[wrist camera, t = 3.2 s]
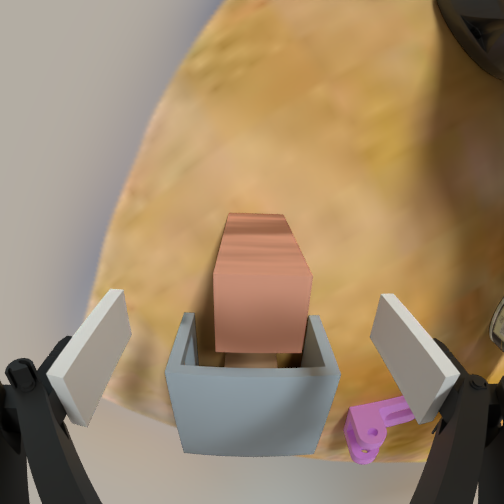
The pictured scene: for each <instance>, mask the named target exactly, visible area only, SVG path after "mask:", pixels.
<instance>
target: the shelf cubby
mask: <svg viewBox="0 0 504 504" xmlns="http://www.w3.org/2000/svg"><path fill="white" fill-rule="evenodd" d="M184 363H185V365H184ZM165 376H166V381H167V386H168V390H169V395H170V399H171V404H172V408H173V412H174V416H175V421H176V425H177V429H178V432H179V436H180V440H181V444H182V447H183V451H184V453H192V454H203V455H216V456H241V457H242V456H243V457H263V456H265V457H268V456H293V455H307V454H314V452H315V449H316V447H317V444H318V441H319V439H320V436H321V433H322V431H323V428H324V425H325V422H326V419H327V416H328V414H329V411H330V408H331V405H332V402H333V399H334V395H335V392H336V389H337V386H338V383H339V379H340V376H341V373H340V370H339V368H338V365H337V362H336V359H335V357H334V354H333V351H332V349H331V346H330V343H329V340H328V338H327V335H326V333H325V330H324V327H323V325H322V322H321V319H320V317H319V315H309V319H308V326H307V332H306V338H305V344H304V350H303V356H302V362H301V367H300V368H227V367H207V366H199V361H198V350H197V338H196V326H195V313H185V312H184V315H183V318H182V321H181V324H180V327H179V330H178V333H177V336H176V339H175V342H174V345H173V348H172V351H171V354H170V357H169V360H168V364H167V367H166V370H165Z"/></svg>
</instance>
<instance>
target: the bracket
mask: <svg viewBox="0 0 504 504" xmlns="http://www.w3.org/2000/svg"><path fill="white" fill-rule="evenodd" d="M408 408H409V409H408ZM404 409H405V410H404ZM397 411H398V412H397ZM393 412H394V413H393ZM413 419H415V417H414V415H413V413H412V411H411V409H410V407H409V405H408V404H407V402H406V400H405V398H404V396H400V397H396V398H391V399H387V400H383V401H378V402H374V403H369V404H364V405H359V406H353V407H349V411H348V415H347V419H346V422H345V426H344V429H343V431H344V434H345V438H346V441H347V445H348V448H349V452H350V456H351V458H352V460H353V461H354V462H356V463H358V464H368V463H371V462H372V461H373V460H374V459H375V458H376V456H377V454H378V452H379V447H380V446H381V445H382V444H383V442H384V440H385V438H386V435H387V430H386V427H390V426H394V425H398V424H401V423H405V422H408V421H411V420H413ZM361 450H367V451H368V453H363V452H362V451H361Z"/></svg>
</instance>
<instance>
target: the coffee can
mask: <svg viewBox="0 0 504 504" xmlns="http://www.w3.org/2000/svg"><path fill="white" fill-rule="evenodd" d="M489 335H490V339H491V340H492V342H494V343H495V344H496V345H497V346H498V347H499V348H500V349H501V350H502V351H503V352H504V298H503V299H502V300H501V302H500V303H499V305H498V307H497V309H496V311H495V313H494V315H493V318H492V321H491V325H490V331H489Z"/></svg>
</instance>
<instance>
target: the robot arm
mask: <svg viewBox="0 0 504 504" xmlns="http://www.w3.org/2000/svg"><path fill="white" fill-rule="evenodd" d="M437 3H438V5H439V8H440V10H441V13H442V15H443V17H444V19H445V21H446V23H447V25H448V26H449V28H450V30H451V31H452V33H453V35H454V36H455V38H456V39H457V40H458V42H459V43H460V45H461V46H462V47H463V49H464V50H465V51H466V52H467V53H468V55H469V56H470V57H471V58H472V59H473V60H474V61H475V62H476V63H477V64H478V65H479V66H480V67H481V68H483V69H484V70H485V71H486V72H488V73H489V74H491V75H492V76H494V77H496V78H499V79H503V80H504V0H437ZM131 335H132V333H131V328H130V323H129V318H128V313H127V307H126V302H125V296H124V290H120V289H110V290H109V291H108V292H107V293H106V295H105V296H104V297H103V298H102V300H101V301H100V302H99V303H98V305H97V306H96V307H95V308H94V310H93V311H92V312H91V313H90V315H89V316H88V317H87V319H86V320H85V321H84V322H83V324H82V325H81V326H80V328H79V329H78V330H77V332H76V333H75V334H74V336H73V337H72V336H66V337H65V338H63V339H62V340H61V341H59V342H58V344H57V345H56V346H55V347H54V349H53V351H51V353H50V354H49V356H48V357H47V358H46V359H45V361H44V362H43V363H42V365H41V366H40V367H39V369H38V370H36V368H35V366H34V364H33V362H32V361H31V360H30V359H26V358H21V359H17V360H14V361H13V362H11V363H10V364H9V365H8V366H7V368H6V371H5V374H6V376H7V378H8V380H9V382H10V384H11V385H2V383H1V381H0V504H30V503H29V493H28V481H27V459H28V463H29V466H30V469H31V473H32V476H33V479H34V482H35V485H36V488H37V491H38V494H39V497H40V499H41V502H42V504H102V503H101V501H100V499H99V497H98V495H97V493H96V491H95V490H94V488H93V486H92V484H91V482H90V480H89V478H88V476H87V474H86V472H85V470H84V468H83V465H82V463H81V461H80V459H79V456H78V454H77V452H76V450H75V447H74V445H73V442H72V440H71V437H70V435H69V432H68V429H67V427H66V424H65V423H64V421H63V420H64V418H65V416H66V414H67V416H68V417H69V419H70V421H71V422H72V423H73V424H77V425H80V426H84V427H88V425H89V423H90V420H91V419H92V416H93V414H94V412H95V410H96V407H97V405H98V403H99V401H100V399H101V396H102V394H103V392H104V390H105V388H106V386H107V384H108V381H109V379H110V377H111V375H112V373H113V371H114V369H115V367H116V365H117V363H118V361H119V359H120V357H121V355H122V353H123V351H124V349H125V347H126V345H127V343H128V341H129V339H130V337H131ZM370 338H371V340H372V342H373V343H374V345H375V347H376V348H377V350H378V352H379V354H380V355H381V357H382V359H383V361H384V362H385V364H386V366H387V368H388V369H389V371H390V373H391V375H392V376H393V378H394V380H395V382H396V383H397V385H398V387H399V389H400V391H401V393H402V394H403V396H404V398H405V400H406V402H407V404H408V405H409V407H410V409H411V411H412V413H413V415H414V417H415V419H416V421H417V422H418V424H419V425H420V424H423V423H427V422H430V421H433V420H434V418H435V416H436V415H437V413H438V412H440V414H441V416H442V418H441V419H440V421H439V422H438V424H437V425H436V427H435V428H434V430H433V431H432V434H434V432H435V431H436V434H435V437H434V440H433V444H432V447H431V450H430V453H429V456H428V459H427V462H426V464H425V467H424V470H423V473H422V476H421V478H420V480H419V483H418V485H417V488H416V490H415V492H414V495H413V497H412V499H411V502H410V504H473V500H474V497H475V493H476V489H477V485H478V488H479V489H478V504H504V376H502V378H501V380H500V382H499V383H498V384H488V383H487V381H486V380H485V379H484V378H483V377H481V376H478V375H474V374H472V375H469V374H468V373H467V371H466V370H465V369H464V368H463V366H462V365H461V364H460V363H459V362H458V360H457V359H456V358H455V357H454V355H453V354H452V353H451V352H449V349H448V348H447V347H446V346H445V345H444V344H443V343H442V342H440V341H439V340H437V339H436V338H434V339H432V338H431V336H430V335H429V334H428V333H427V332H426V331H425V329H424V328H423V327H422V326H421V325H420V323H419V322H418V321H417V320H416V319H415V318H414V316H413V315H412V314H411V313H410V312H409V311H408V310H407V308H406V307H405V306H404V305H403V304H402V303H401V302H400V301H399V299H398V298H397V297H396V296H395V295H394V294H381V296H380V300H379V304H378V308H377V312H376V316H375V320H374V324H373V327H372V331H371V335H370ZM502 419H503V426H501V420H502Z"/></svg>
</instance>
